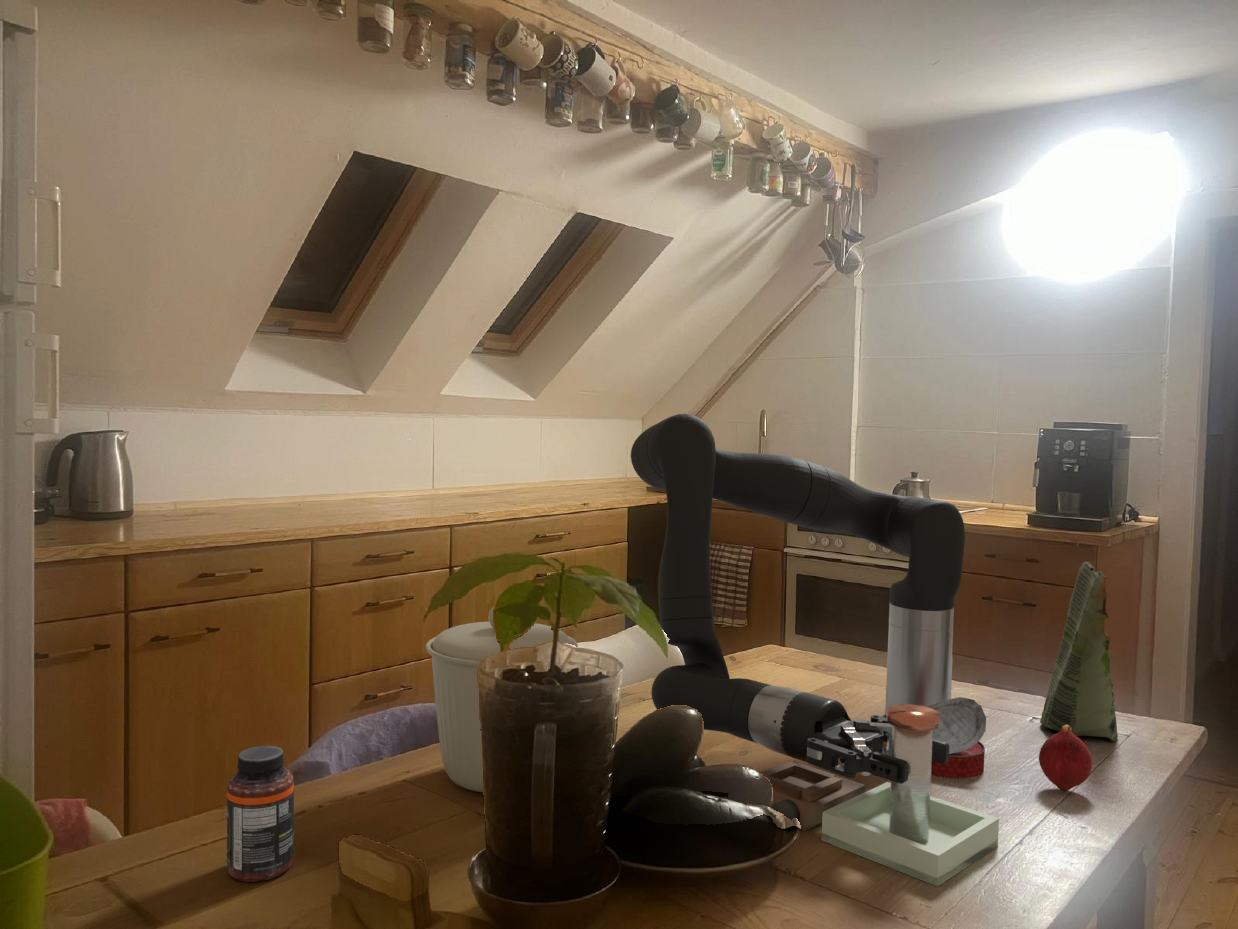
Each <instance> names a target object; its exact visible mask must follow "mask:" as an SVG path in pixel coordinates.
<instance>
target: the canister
mask: <svg viewBox="0 0 1238 929" xmlns="http://www.w3.org/2000/svg"><path fill="white" fill-rule="evenodd" d="M494 607H495V606H493V607H491V609H490V610H489V612H488V617H487V618H488V621H478V622H469V623H464V624H463V623H462V624H459V625H455V626H451V627H449V628H448V629H445V630H442V631H441V632H440V633H439V634H437V635H436V636H434V637H433V638H430V639H429V640H428V641H427V642H426V644H425V649H426V652H427V654H429V656H431V663H432V664H431V666H432V678H433V689H434V698H435V699H434V700H435V710H436V720H437V729H438V737H439V739H438V740H439V746H440V753H441V754H440V755H441V760H442V764H443V768H444V771H445V773H446V775H447V776H448V777H449V778H450V780H451V781H452V782H453V783H455V785H458V786H460V787H461V788H463V789H466V790H471V791H473V792H480V793H484V792H483V767H482V746H481V736H480V729H481V726H480V720H479V688H478V681H477V669H478V666H479V662H480V661H482V660H483V659H484V658H485V657H487V656H490V655H492V654H497V653H499V652H500V646H499V643H498V642H497V639H496V633H495V630H494V623H493V609H494ZM551 627H552V626H550V625H546V624H541V623H536V622H535V624H534V626H532V627H531V629H530V630H528V632H527V633H525V634H524V635H523V636H521V637H519V638H517V640H514V641H513V643H511V644H510V646H509V648H510V649H514V648H520V647H534V646H537V645H540V644H542V643H551V642H552V640H553V631H552V630H551ZM559 642H560V643H568V644H572V645H575V646H576V647H578V642H577V641H576V640H575V639H574V638H572V637H571V636H568V635H567V634H566V633H565V632H564V631H563V630H560V631H559Z"/></svg>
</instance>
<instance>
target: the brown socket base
mask: <svg viewBox="0 0 1238 929" xmlns="http://www.w3.org/2000/svg"><path fill="white" fill-rule="evenodd" d="M760 773H761V774H763V776H765V777H767V778H768V779H769V780H770V783H771V784H772V787H773V805H772V808H773V809H774V810H776V811H779V812H780V813H782V814H784V816H786V817H787V818H789V819H791V820H792V819H793V818H797V819H798V821H799V822H800V825H801V829H800V830H801V831H803V832H805V831H808V830H809V829H812V828H813V827H816V826H818V825H820V824H822V812H824V811H826V810H828V809H830V808H833V807H835V806H837V805H839V804H841V803H843V802H845V801H847V800H850V799H852V798H854V797H856V796H858V795H860V794H862V793H865V792H866V784H864V783H861V782H857V781H854V780H852V779H850V778H847V777H844V776H841V775H838V774H835V773H833V772H830V771H827V770H826V771H825V770H824V769H823V770H822V769H820V768H818V767H817V768H816V767H814V766H811V765H809V764H808V765H807V764H805V763H801V762H797V760H794V761H787V762H784V763H782V764H779V765H776V766H774V767H771V768H768V769H766V770H763V771H761V772H760Z"/></svg>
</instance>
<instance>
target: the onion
mask: <svg viewBox="0 0 1238 929" xmlns="http://www.w3.org/2000/svg"><path fill="white" fill-rule="evenodd" d="M1071 730H1072V728H1071V727H1070V726H1068V725H1064V726H1062V730H1061V731H1060V732H1059V731H1058V733H1055V734H1053V735H1051V736H1049V737H1048V738H1047V739H1046V740H1045V741H1044V743H1043V744H1042V746H1041V748H1040V749H1039V753H1038V754H1039V755H1038V762H1039V766H1040V769H1041V771H1042V772H1043V775H1044V776H1045V777H1046V778H1047V779H1048V781H1050V782H1051V783H1052V784H1053V785H1055V786H1056V787H1057V789H1059V790H1060V791H1063V792H1067V791H1069V790H1071V789H1073V788H1075V787H1078V786H1079V785H1081V784H1082V783H1084V782H1085V781H1086V780H1087V779H1088V777H1089V776H1090V774H1091V772H1092V769H1093V768H1092V767H1093V759H1092V755H1091V752H1090V750H1089V748H1088V746H1087V745H1086V744H1085V743H1084V742H1083V740H1082V739H1080V737H1078V736H1075V735H1074V734H1073V733H1072V731H1071Z"/></svg>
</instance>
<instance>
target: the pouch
mask: <svg viewBox="0 0 1238 929" xmlns="http://www.w3.org/2000/svg"><path fill="white" fill-rule="evenodd" d="M1106 582H1107V581H1106V575H1104V572H1103V570H1099V571H1098V570H1096V566H1095V565H1094V566H1093V564H1092V563H1091V562H1090V561H1083V562H1082V563H1081V564H1080V567H1079V568H1078V574H1077V577H1076V580H1075V584H1074V587H1073V592H1072V594H1071V597H1070V601H1069V603H1068V604H1069V605H1068V611H1067V615H1066V620H1065V625H1064V630H1063V632H1062V637H1061V641H1060V645H1059V649H1058V652H1057V656H1056V660H1055V664H1054V667H1053V670H1052V675H1051V679H1050V682H1049V686H1048V690H1047V694H1046V697H1045V701H1044V705H1043V710H1042V712H1041V717H1040V719H1039V722H1040V723H1039V724H1041V725H1042V726H1043V727H1045V728H1047V729H1051V730H1054V731H1056V732H1058V733H1059V732H1060V731H1061V730H1062V726H1064V725H1068V726H1070V727H1071V728H1072V730H1071V731H1072V733H1073V734H1074V735H1075V736H1077V737H1078V736H1086V737H1087V736H1088V737H1098V738H1106V739H1108V741H1111V742H1116V741H1117V739H1118V737H1119V735H1118V726H1117V724H1118V723H1117V718H1116V717H1117V716H1116V707H1115V704H1114V702H1115V694H1114V690H1113V689H1114V688H1113V686H1114V685H1113V681H1112V678H1111V659H1110V656H1109V653H1108V651H1109V650H1110V646H1111V645H1110V642H1111V636H1110V635H1109V634H1108V633H1107V632H1106V631H1105V623H1106V621H1107V620H1108V619H1110V616H1109V614H1108V613H1107V608H1106V602H1107V592H1106V586H1107V583H1106Z"/></svg>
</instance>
